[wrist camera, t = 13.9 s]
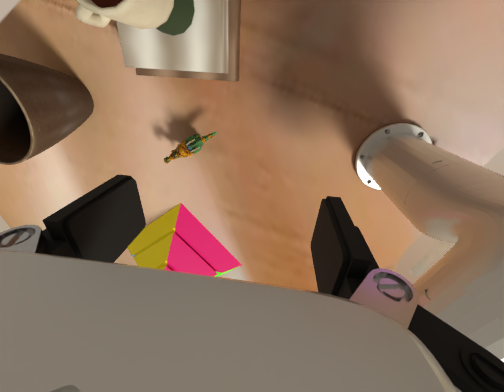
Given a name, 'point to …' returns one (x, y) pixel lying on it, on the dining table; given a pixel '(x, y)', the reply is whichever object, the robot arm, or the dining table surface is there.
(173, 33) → the character mug
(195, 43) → the grey stacked block
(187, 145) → the figurine
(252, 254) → the dining table surface
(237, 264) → the pyramid toy
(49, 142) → the plant pot
